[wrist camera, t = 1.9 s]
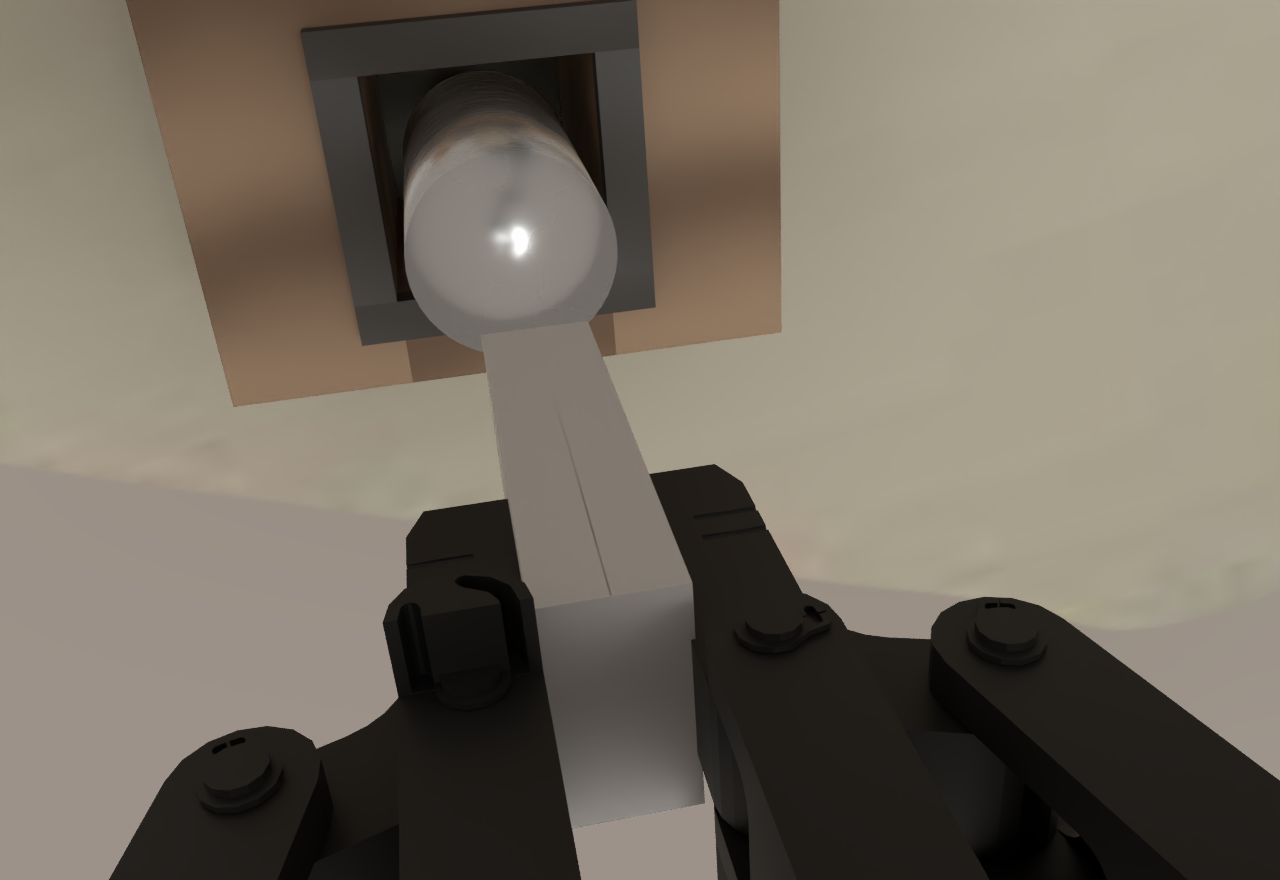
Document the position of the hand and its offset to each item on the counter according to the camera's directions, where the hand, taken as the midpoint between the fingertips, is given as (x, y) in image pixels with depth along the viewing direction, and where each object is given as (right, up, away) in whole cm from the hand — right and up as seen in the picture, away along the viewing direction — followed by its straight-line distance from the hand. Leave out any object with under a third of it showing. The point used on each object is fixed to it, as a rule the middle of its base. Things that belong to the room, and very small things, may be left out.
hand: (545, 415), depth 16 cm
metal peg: (-2, +7, +12) cm, 14 cm away
